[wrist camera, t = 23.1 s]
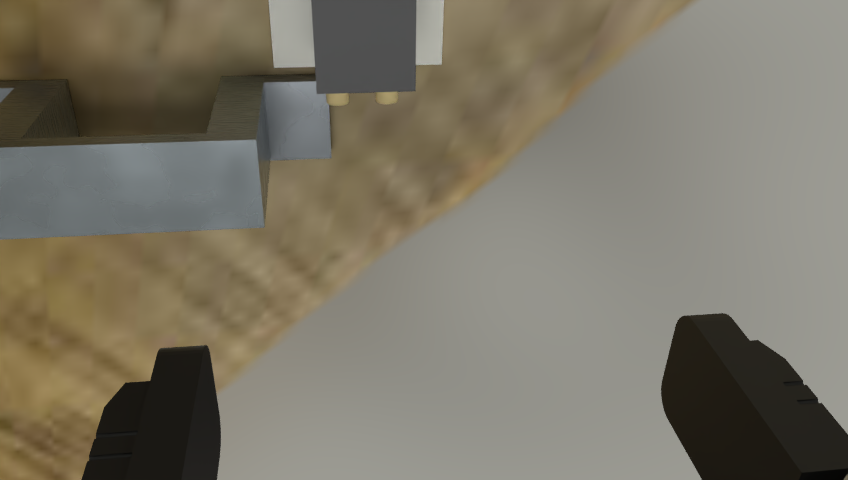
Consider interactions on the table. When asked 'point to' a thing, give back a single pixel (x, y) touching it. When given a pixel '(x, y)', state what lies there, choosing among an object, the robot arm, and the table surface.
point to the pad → (297, 41)
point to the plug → (364, 48)
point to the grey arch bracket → (151, 161)
